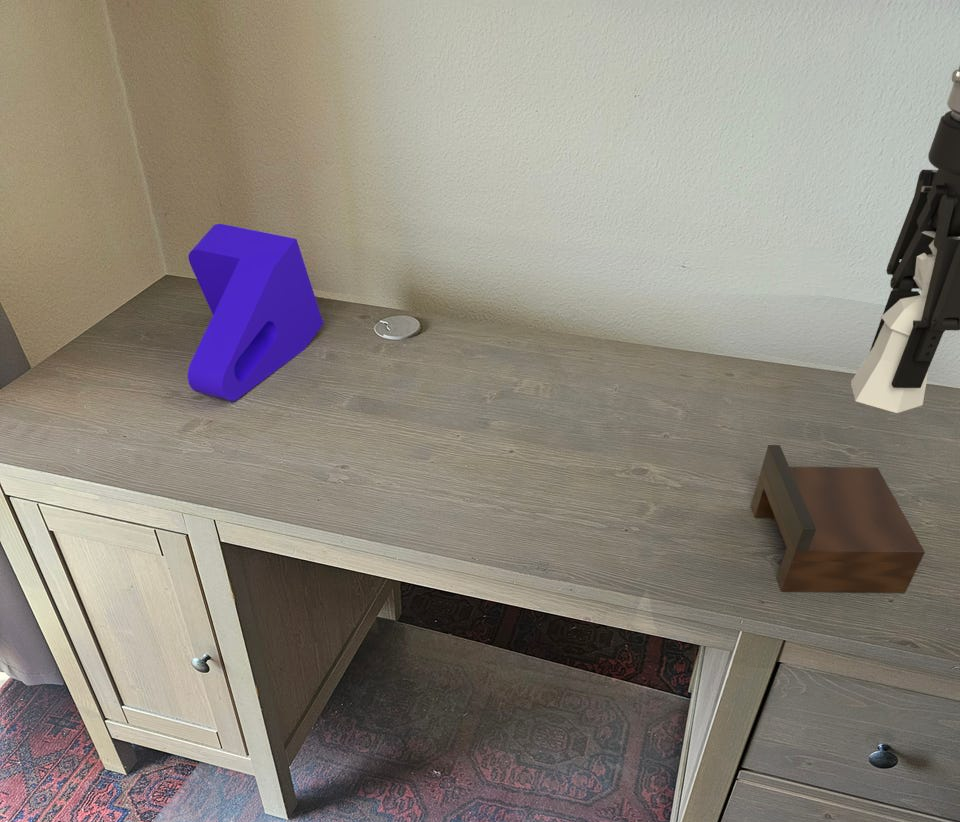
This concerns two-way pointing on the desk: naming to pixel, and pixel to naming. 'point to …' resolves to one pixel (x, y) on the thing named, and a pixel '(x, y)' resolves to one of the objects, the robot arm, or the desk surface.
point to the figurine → (895, 347)
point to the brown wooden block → (836, 528)
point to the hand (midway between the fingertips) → (894, 368)
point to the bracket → (250, 309)
